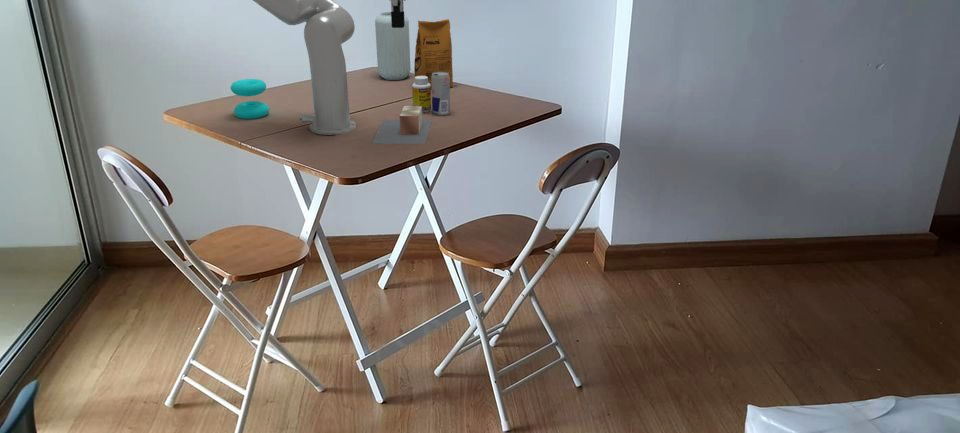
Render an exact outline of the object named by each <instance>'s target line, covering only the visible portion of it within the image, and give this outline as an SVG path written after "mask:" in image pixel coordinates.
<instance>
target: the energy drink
mask: <svg viewBox="0 0 960 433" xmlns="http://www.w3.org/2000/svg"><path fill="white" fill-rule="evenodd" d="M431 83H432V88H431V111H432V114H433V115H434V116H439V117H441V116H443V117H444V116H448V115H450V114H451V87H450V76H449V73H447V72H434V73H432V76H431Z"/></svg>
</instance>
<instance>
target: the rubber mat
mask: <svg viewBox="0 0 960 433" xmlns="http://www.w3.org/2000/svg"><path fill="white" fill-rule="evenodd" d="M432 123H433V119H422V126H421V129H420V132H419V134H400V119H383V120H382V122H381V124H380V126H379V129H378V130H377V133H376V135H375V136H374V138H373V140H372V142H371V145H426V142H427V139H428V136H429V132H430V128H431V127H432V126H431V125H432Z"/></svg>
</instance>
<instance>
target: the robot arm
mask: <svg viewBox="0 0 960 433" xmlns="http://www.w3.org/2000/svg"><path fill="white" fill-rule="evenodd" d="M404 1H406V0H390V8H391V11H390V12H391V24H392V28H404V26H405V22H404V15H405V11H404ZM252 2H254V3H256V4H257V5H258V6H260V7H261V8H263V9H264V10H265V11H267V12H268V13H270V14H271V15H273V16H274V17H275V18H277V19H278V20H279V21H281V22H282V23H285V24H286V25H288V26H297V25H300V24H303V23H305V25H304V29H303V38H304V43H305V48H306V50H307V54H308V62H309V70H310V78H311V80H310V81H311V88H312V99H313V111H314V112H311V113H310V114H308V113H300V114H299V120H300V121H302V123H310V128H309V129H310V131H311V132H312V133H314V134H317V135H321V136H322V135H324V136H328V135H329V136H334V135H335V136H336V135H341V134H346V133H349V132H352V131H354V130H356V128H357V124H356V122H355V121H354V120H352V119H351V114H350V113H351V112H350V102H349V101H350V98H349V91H348V77H347V76H348V74H347V65H346V64H347V62H346V59H345V54H344V51H343V48H342V44H344V43H345V42H347V41H349V40H350V39H351V38H352V37H353V35H354V33H355V20H354V19H353V17H352V15H351V14H350V12H349V11H348V10H346V9H345V8H343V7H342V6H341V5H340V4H338V3H337V2H335V1H334V0H252Z"/></svg>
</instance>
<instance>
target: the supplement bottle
mask: <svg viewBox="0 0 960 433" xmlns="http://www.w3.org/2000/svg"><path fill="white" fill-rule="evenodd" d="M411 86H412V87H411V89H412V90H411V91H412V92H411V94H412V106H422V114H423V113H424V114H425V113H428V112H430V111H432V88H431V85H430V83H428V77H427V76H416V77H415V76H414V82H413V83H412V85H411Z"/></svg>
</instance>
